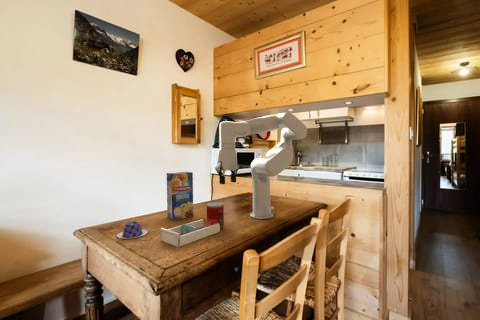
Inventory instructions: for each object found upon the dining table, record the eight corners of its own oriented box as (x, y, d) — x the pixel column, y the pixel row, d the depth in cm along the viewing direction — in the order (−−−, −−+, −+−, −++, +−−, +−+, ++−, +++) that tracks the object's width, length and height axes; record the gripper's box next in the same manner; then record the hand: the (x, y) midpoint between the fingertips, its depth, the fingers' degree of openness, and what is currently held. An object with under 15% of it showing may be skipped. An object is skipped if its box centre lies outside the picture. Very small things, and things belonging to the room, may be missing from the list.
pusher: (183, 233, 104) (183, 223, 104) (196, 238, 98) (196, 227, 98) (178, 235, 102) (178, 224, 102) (191, 239, 96) (191, 228, 96)
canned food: (221, 230, 108) (221, 206, 108) (204, 229, 110) (204, 205, 109) (225, 225, 116) (225, 202, 115) (209, 224, 117) (209, 201, 117)
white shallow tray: (202, 226, 114) (202, 216, 114) (219, 231, 107) (219, 220, 106) (160, 239, 97) (160, 228, 97) (178, 247, 90) (177, 234, 90)
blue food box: (187, 213, 138) (187, 171, 137) (193, 216, 132) (192, 172, 131) (167, 217, 131) (166, 172, 130) (172, 220, 125) (171, 173, 124)
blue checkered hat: (149, 237, 101) (148, 224, 101) (117, 242, 96) (116, 229, 95) (145, 229, 112) (145, 217, 112) (116, 233, 106) (116, 221, 106)
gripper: (233, 147, 127) (233, 180, 128) (209, 147, 114) (209, 184, 115) (244, 147, 122) (245, 181, 123) (220, 146, 109) (221, 185, 110)
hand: (228, 182), depth 119 cm, fingers open, 7 cm apart
